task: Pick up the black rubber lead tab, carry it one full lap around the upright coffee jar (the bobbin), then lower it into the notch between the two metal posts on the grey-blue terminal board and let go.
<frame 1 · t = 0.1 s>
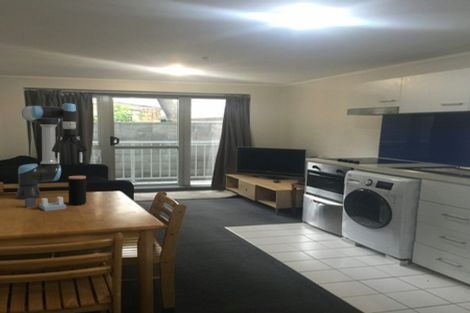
hand: (69, 162, 231), 28 cm above the table, fingers open, 13 cm apart
tab: (30, 206, 232), on the table
board: (52, 207, 230), on the table
coffee jar: (77, 204, 243), on the table
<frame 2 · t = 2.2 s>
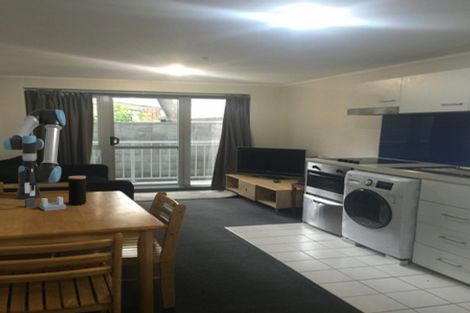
hand: (29, 194, 231), 8 cm above the table, fingers open, 13 cm apart
nothing on the table moved.
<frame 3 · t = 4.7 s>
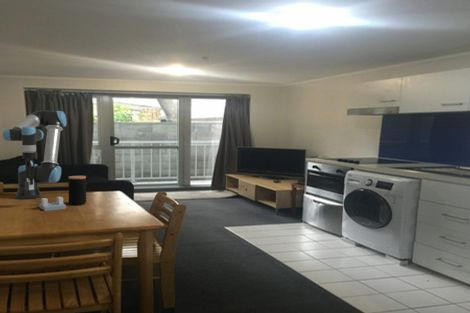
hand: (30, 188, 232), 11 cm above the table, fingers closed on tab, 4 cm apart
tab: (30, 189, 232), point 11 cm above the table, touching gripper
everything else where it was.
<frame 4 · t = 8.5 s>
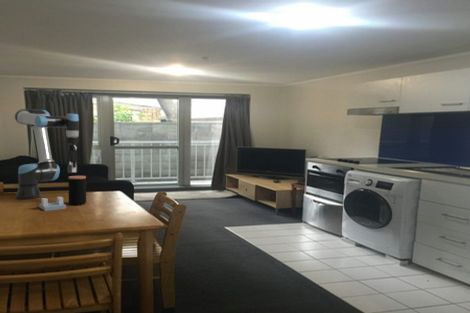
hand: (72, 171, 249), 20 cm above the table, fingers closed on tab, 4 cm apart
tab: (72, 172, 249), point 20 cm above the table, touching gripper
everything else where it was.
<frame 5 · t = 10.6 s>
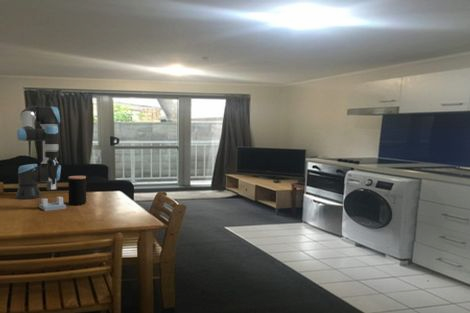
hand: (52, 188, 229), 12 cm above the table, fingers closed on tab, 4 cm apart
tab: (51, 189, 229), point 12 cm above the table, touching gripper
everything else where it was.
when the fingers open (3 cm above the table, at t = 12.3 s): tab stays where it is, resting on board.
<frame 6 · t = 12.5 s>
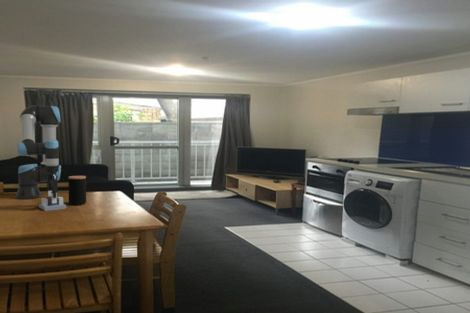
hand: (52, 202, 230), 4 cm above the table, fingers open, 7 cm apart
tab: (52, 204, 230), point 2 cm above the table, touching board
everything else where it was.
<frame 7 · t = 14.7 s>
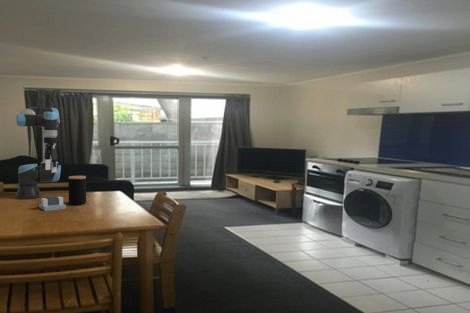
hand: (51, 171, 231), 23 cm above the table, fingers open, 13 cm apart
nothing on the table moved.
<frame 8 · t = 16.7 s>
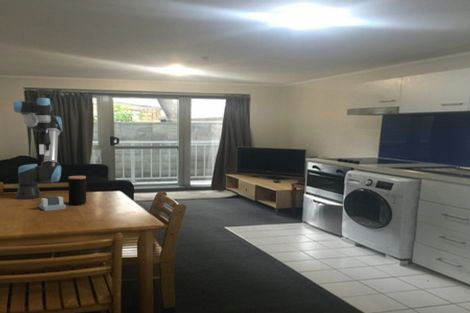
hand: (44, 155, 241), 32 cm above the table, fingers open, 13 cm apart
nothing on the table moved.
at the end: tab 0.3 cm off-centre on the board, point 2.0 cm above the board's base; tab tilted 0°; the gripper is holding nothing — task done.
